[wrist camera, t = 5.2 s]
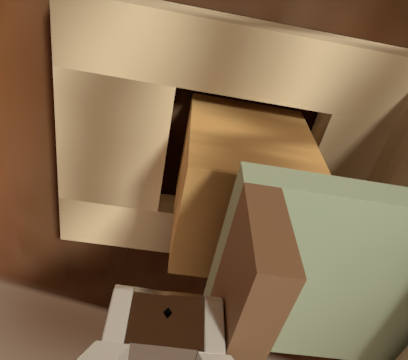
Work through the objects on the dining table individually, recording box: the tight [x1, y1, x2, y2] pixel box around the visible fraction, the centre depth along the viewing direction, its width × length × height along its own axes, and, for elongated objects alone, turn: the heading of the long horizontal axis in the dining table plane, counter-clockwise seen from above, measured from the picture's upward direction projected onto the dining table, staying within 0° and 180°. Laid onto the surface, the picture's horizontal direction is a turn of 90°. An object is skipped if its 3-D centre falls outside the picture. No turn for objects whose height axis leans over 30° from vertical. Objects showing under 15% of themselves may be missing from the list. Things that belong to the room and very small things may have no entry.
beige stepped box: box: [49, 0, 408, 360], centre depth 15 cm, size 25×12×11 cm, turn 80°
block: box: [168, 93, 331, 278], centre depth 16 cm, size 5×5×6 cm
